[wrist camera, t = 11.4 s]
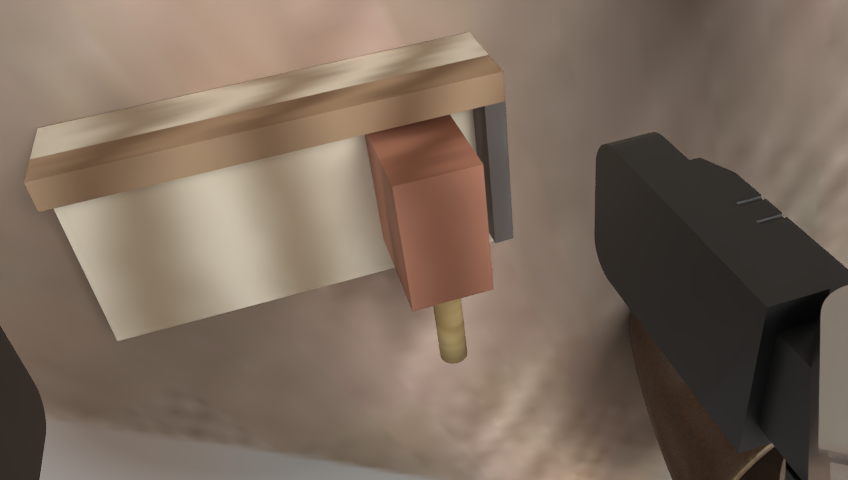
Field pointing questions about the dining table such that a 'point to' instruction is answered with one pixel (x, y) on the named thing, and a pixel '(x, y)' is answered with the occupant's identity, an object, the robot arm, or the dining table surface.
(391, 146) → the reddish-brown block with stick
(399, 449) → the dining table surface
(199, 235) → the board
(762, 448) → the plant pot
